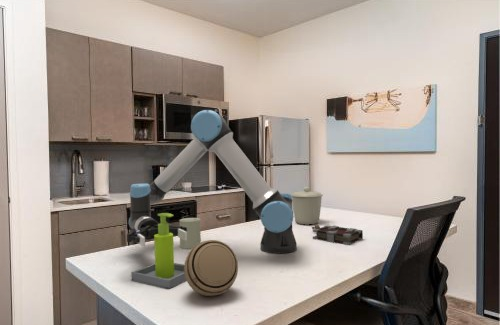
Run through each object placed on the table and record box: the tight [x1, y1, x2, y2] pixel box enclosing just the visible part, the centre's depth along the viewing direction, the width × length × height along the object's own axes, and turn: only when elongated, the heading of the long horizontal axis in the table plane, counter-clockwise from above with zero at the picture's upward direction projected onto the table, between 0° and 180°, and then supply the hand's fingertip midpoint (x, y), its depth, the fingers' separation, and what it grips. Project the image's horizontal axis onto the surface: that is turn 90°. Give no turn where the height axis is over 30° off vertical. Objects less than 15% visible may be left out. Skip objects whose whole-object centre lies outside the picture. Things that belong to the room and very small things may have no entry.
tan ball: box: [183, 239, 239, 297], centre depth 97 cm, size 15×15×15 cm
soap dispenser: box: [153, 212, 175, 278], centre depth 111 cm, size 6×7×20 cm
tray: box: [130, 262, 187, 290], centre depth 111 cm, size 16×14×2 cm
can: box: [178, 217, 202, 250], centre depth 150 cm, size 9×9×12 cm
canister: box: [290, 186, 324, 226], centre depth 198 cm, size 18×18×21 cm
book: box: [311, 224, 364, 246], centre depth 162 cm, size 15×25×5 cm, turn 47°
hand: (165, 239), depth 110 cm, fingers open, 13 cm apart
